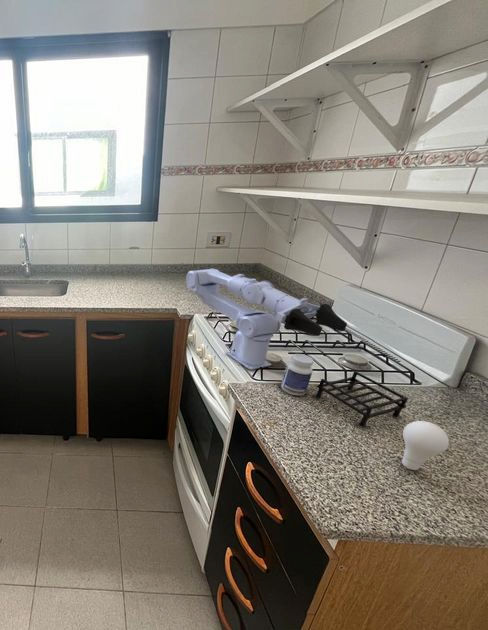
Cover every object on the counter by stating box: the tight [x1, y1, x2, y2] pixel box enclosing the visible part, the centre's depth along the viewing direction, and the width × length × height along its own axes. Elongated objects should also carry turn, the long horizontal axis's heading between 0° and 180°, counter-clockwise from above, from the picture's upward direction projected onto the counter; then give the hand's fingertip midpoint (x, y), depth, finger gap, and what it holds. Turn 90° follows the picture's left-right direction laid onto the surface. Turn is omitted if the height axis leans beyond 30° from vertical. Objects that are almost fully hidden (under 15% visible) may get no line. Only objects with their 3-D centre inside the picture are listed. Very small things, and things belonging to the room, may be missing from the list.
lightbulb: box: [401, 420, 450, 471], centre depth 67 cm, size 6×6×11 cm
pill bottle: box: [280, 353, 314, 396], centre depth 91 cm, size 6×6×10 cm
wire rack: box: [315, 370, 409, 428], centre depth 85 cm, size 13×12×6 cm
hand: (332, 329), depth 80 cm, fingers open, 7 cm apart
